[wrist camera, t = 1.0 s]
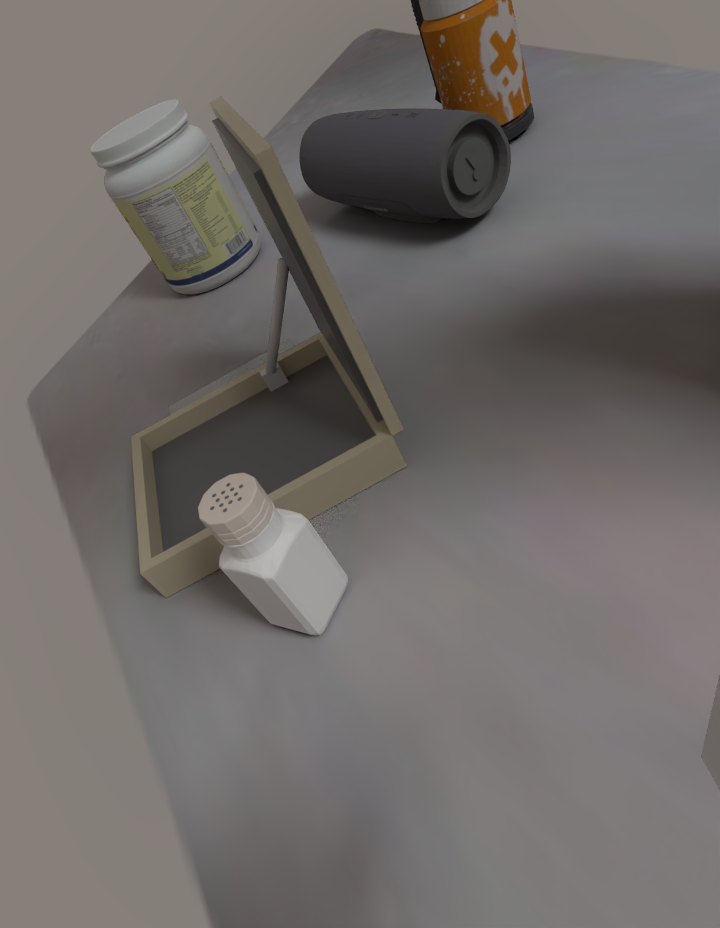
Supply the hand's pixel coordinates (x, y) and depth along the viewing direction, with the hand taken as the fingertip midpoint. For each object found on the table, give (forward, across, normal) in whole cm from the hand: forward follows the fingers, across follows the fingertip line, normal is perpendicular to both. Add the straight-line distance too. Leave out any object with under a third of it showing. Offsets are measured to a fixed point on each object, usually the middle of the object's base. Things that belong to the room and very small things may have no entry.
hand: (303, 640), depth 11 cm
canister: (+72, +6, +21) cm, 76 cm away
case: (+36, -10, -8) cm, 38 cm away
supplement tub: (+69, -24, +5) cm, 73 cm away
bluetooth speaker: (+63, -1, +12) cm, 64 cm away
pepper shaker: (+24, -4, -12) cm, 27 cm away
